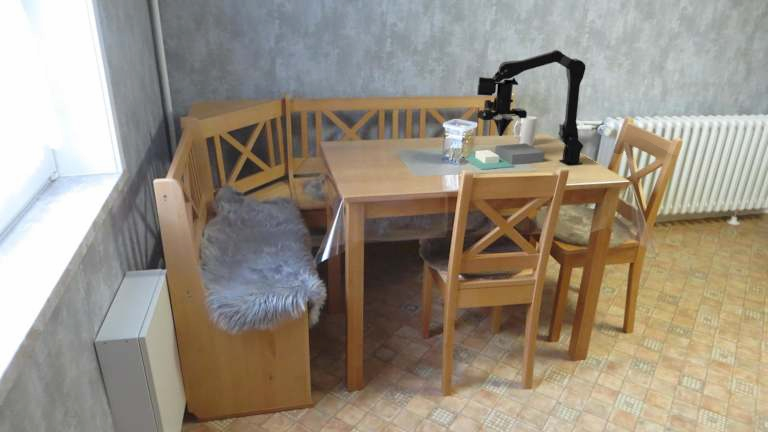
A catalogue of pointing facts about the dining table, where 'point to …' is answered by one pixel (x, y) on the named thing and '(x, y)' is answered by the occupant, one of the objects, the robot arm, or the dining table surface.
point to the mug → (526, 130)
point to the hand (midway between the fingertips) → (500, 135)
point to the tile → (487, 156)
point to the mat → (484, 166)
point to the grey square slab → (519, 153)
